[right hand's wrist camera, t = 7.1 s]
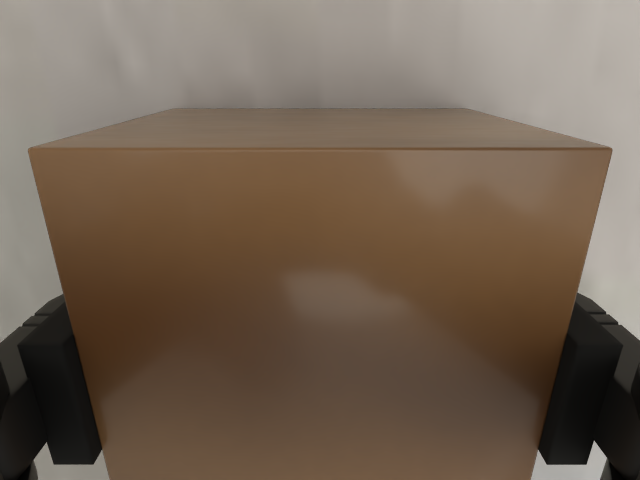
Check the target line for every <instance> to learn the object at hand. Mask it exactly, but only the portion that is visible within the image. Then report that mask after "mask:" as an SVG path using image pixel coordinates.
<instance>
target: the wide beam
mask: <svg viewBox="0 0 640 480" xmlns="http://www.w3.org/2000/svg"><path fill="white" fill-rule="evenodd" d="M28 153H29V157H30V162H31V166H32V170H33V174H34V178H35V182H36V186H37V190H38V194H39V198H40V202H41V206H42V210H43V214H44V218H45V222H46V226H47V230H48V234H49V238H50V242H51V246H52V250H53V254H54V258H55V262H56V266H57V270H58V274H59V278H60V282H61V286H62V290H63V294H64V298H65V302H66V306H67V310H68V314H69V318H70V322H71V326H72V330H73V334H74V338H75V342H76V346H77V350H78V354H79V358H80V362H81V366H82V370H83V374H84V378H85V382H86V386H87V390H88V394H89V398H90V402H91V406H92V410H93V414H94V418H95V422H96V426H97V430H98V434H99V438H100V442H101V447H102V451H103V455H104V459H105V463H106V467H107V471H108V475H109V479H110V480H531V476H532V472H533V468H534V464H535V460H536V456H537V452H538V448H539V444H540V440H541V436H542V432H543V428H544V424H545V420H546V416H547V412H548V408H549V404H550V400H551V396H552V392H553V388H554V384H555V380H556V376H557V372H558V367H559V363H560V359H561V355H562V351H563V347H564V343H565V339H566V335H567V331H568V327H569V323H570V319H571V315H572V311H573V307H574V303H575V299H576V295H577V291H578V287H579V283H580V279H581V275H582V271H583V267H584V263H585V259H586V255H587V251H588V247H589V243H590V239H591V235H592V231H593V227H594V223H595V219H596V215H597V211H598V207H599V203H600V199H601V195H602V191H603V187H604V183H605V179H606V175H607V171H608V167H609V163H610V159H611V155H612V148H610V147H607V146H603V145H600V144H596V143H592V142H589V141H585V140H581V139H577V138H574V137H570V136H566V135H563V134H559V133H555V132H552V131H548V130H544V129H540V128H537V127H533V126H529V125H526V124H522V123H518V122H514V121H511V120H507V119H503V118H500V117H496V116H492V115H488V114H485V113H481V112H477V111H474V110H470V109H170V110H166V111H163V112H159V113H155V114H152V115H148V116H144V117H141V118H137V119H133V120H130V121H126V122H122V123H119V124H115V125H111V126H108V127H104V128H100V129H97V130H93V131H89V132H86V133H82V134H78V135H75V136H71V137H67V138H64V139H60V140H56V141H53V142H49V143H45V144H42V145H38V146H34V147H31V148H29V149H28Z"/></svg>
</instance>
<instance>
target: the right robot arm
mask: <svg viewBox="0 0 640 480" xmlns="http://www.w3.org/2000/svg"><path fill="white" fill-rule="evenodd" d="M594 441H595V442H596V443H597V445H598V446H599V447H600V449H601V450H602V451H603V453H604V454H605V455H606V457H607V460H606V463H605V466H604V469H603V472H602V475H601V478H600V480H640V340H638V339H637V338H636V337H635V336H634V335H632V334H631V333H630V332H629V331H628V330H627V329H625V328H624V327H623V326H622V325H618V322H617V321H616V320H615V319H614V318H613V317H611V316H610V315H606V312H605V311H604V310H603V309H602V308H601V307H600V306H598V305H597V304H596V303H595V302H594V301H593V300H591V299H589V298H587V297H585V296H583V295H581V294H579V293H577V295H576V299H575V303H574V307H573V311H572V315H571V319H570V323H569V327H568V331H567V335H566V339H565V343H564V347H563V351H562V355H561V359H560V363H559V367H558V372H557V376H556V380H555V384H554V388H553V392H552V396H551V400H550V404H549V408H548V412H547V416H546V420H545V424H544V428H543V432H542V436H541V440H540V444H539V448H538V450H539V452H540V453H541V455H542V457H543V459H544V460H545V462H546V464H547V465H586V464H587V461H588V458H589V455H590V451H591V448H592V445H593V442H594ZM46 442H47V444H48V447H49V450H50V454H51V457H52V460H53V463H54V464H94V463H95V461H96V459H97V457H98V456H99V454H100V452H101V450H102V447H101V442H100V438H99V434H98V430H97V426H96V422H95V418H94V414H93V410H92V406H91V402H90V398H89V394H88V390H87V386H86V382H85V378H84V374H83V370H82V366H81V362H80V358H79V354H78V350H77V346H76V342H75V338H74V334H73V330H72V326H71V322H70V318H69V314H68V310H67V306H66V302H65V298H64V294H62V295H60V296H58V297H56V298H55V299H53V300H51V301H49V302H48V303H46V304H45V305H44V306H43V307H42V308H41V309H39V310H38V311H37V312H36V313H35V316H31V317H30V318H29V319H28V320H27V321H25V322H24V323H23V326H22V327H18V328H17V329H16V330H15V331H14V332H13V333H11V334H10V335H9V336H8V337H7V338H6V339H4V340H3V341H2V342H1V343H0V480H38V476H37V470H36V466H35V463H34V458H35V457H36V456H37V454H38V453H39V451H40V450H41V449H42V447H43V446H44V445H45V443H46Z"/></svg>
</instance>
